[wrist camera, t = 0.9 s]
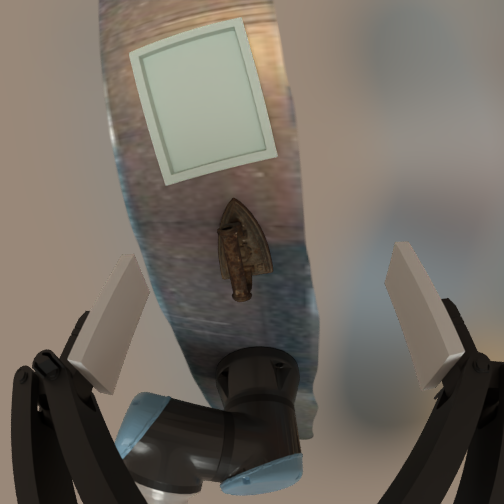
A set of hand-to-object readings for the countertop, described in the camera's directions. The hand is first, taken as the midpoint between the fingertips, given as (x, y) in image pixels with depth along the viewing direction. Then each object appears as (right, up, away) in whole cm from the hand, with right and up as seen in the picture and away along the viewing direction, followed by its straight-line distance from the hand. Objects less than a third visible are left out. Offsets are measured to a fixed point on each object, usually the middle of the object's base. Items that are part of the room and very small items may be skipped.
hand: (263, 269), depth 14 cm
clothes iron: (-2, +3, +23) cm, 24 cm away
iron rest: (-6, +18, +15) cm, 25 cm away
